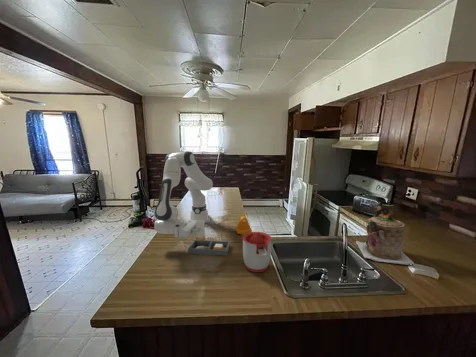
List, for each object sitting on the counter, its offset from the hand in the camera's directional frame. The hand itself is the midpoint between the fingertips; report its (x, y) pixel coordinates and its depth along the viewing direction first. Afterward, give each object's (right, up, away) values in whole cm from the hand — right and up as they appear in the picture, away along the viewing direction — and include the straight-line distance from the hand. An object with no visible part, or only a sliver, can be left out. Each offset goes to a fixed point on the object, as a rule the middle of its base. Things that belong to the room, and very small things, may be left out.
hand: (201, 228), depth 134 cm
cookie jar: (+112, -15, -2) cm, 113 cm away
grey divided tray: (+5, -14, +2) cm, 15 cm away
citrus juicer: (+33, -17, -18) cm, 41 cm away
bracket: (+27, -10, +28) cm, 41 cm away
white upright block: (-1, -7, +1) cm, 7 cm away
